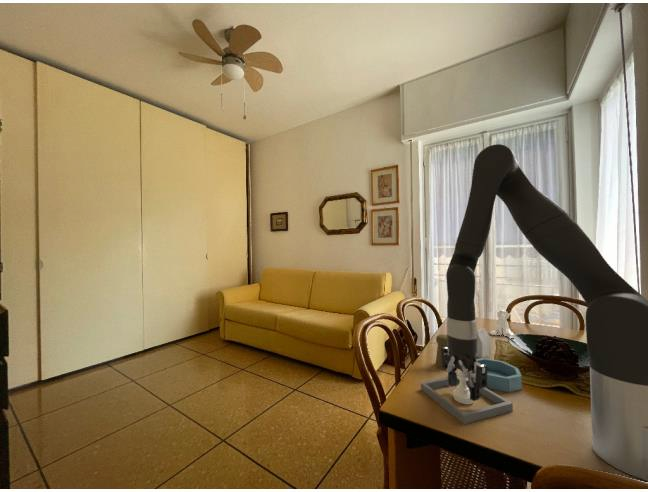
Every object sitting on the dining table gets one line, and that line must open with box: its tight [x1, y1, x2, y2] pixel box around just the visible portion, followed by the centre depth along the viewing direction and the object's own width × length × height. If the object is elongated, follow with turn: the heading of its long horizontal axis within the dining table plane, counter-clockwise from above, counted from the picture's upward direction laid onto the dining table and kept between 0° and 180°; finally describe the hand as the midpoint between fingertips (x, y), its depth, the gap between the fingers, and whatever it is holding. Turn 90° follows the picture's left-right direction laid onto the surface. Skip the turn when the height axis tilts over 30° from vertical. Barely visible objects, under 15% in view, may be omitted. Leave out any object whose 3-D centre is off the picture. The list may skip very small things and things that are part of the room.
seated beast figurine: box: [489, 309, 515, 337], centre depth 121 cm, size 10×9×12 cm
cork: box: [435, 334, 447, 371], centre depth 91 cm, size 6×6×11 cm
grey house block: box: [475, 327, 492, 359], centre depth 99 cm, size 4×7×10 cm, turn 122°
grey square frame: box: [420, 374, 514, 425], centre depth 70 cm, size 16×16×2 cm
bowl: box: [470, 357, 523, 393], centre depth 80 cm, size 13×13×4 cm
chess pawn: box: [452, 369, 474, 405], centre depth 70 cm, size 5×5×9 cm
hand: (463, 392), depth 70 cm, fingers open, 7 cm apart
